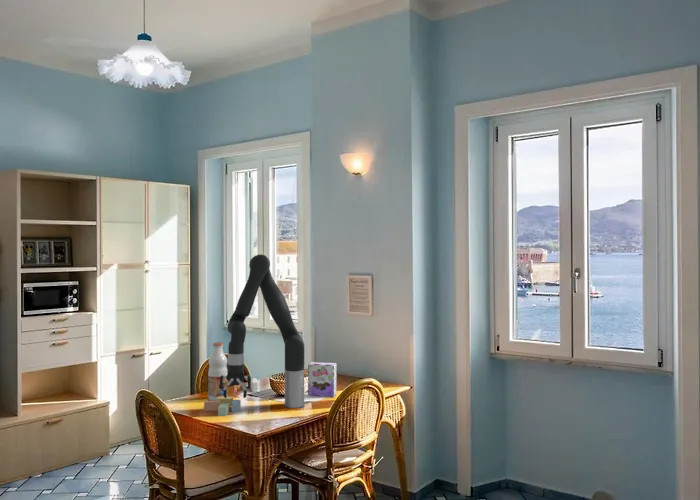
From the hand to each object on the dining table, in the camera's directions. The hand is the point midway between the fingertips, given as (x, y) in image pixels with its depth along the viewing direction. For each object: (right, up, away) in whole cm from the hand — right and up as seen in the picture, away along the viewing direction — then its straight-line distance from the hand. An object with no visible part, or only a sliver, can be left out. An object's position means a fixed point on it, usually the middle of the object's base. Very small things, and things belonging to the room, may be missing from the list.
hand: (235, 397), depth 287 cm
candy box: (+39, -6, +28) cm, 49 cm away
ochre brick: (-6, -6, +7) cm, 11 cm away
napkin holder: (+3, -6, +41) cm, 42 cm away
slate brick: (+1, -6, 0) cm, 6 cm away
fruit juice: (-12, -6, +20) cm, 24 cm away
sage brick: (-4, -6, -7) cm, 10 cm away
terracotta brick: (-10, -6, 0) cm, 12 cm away
